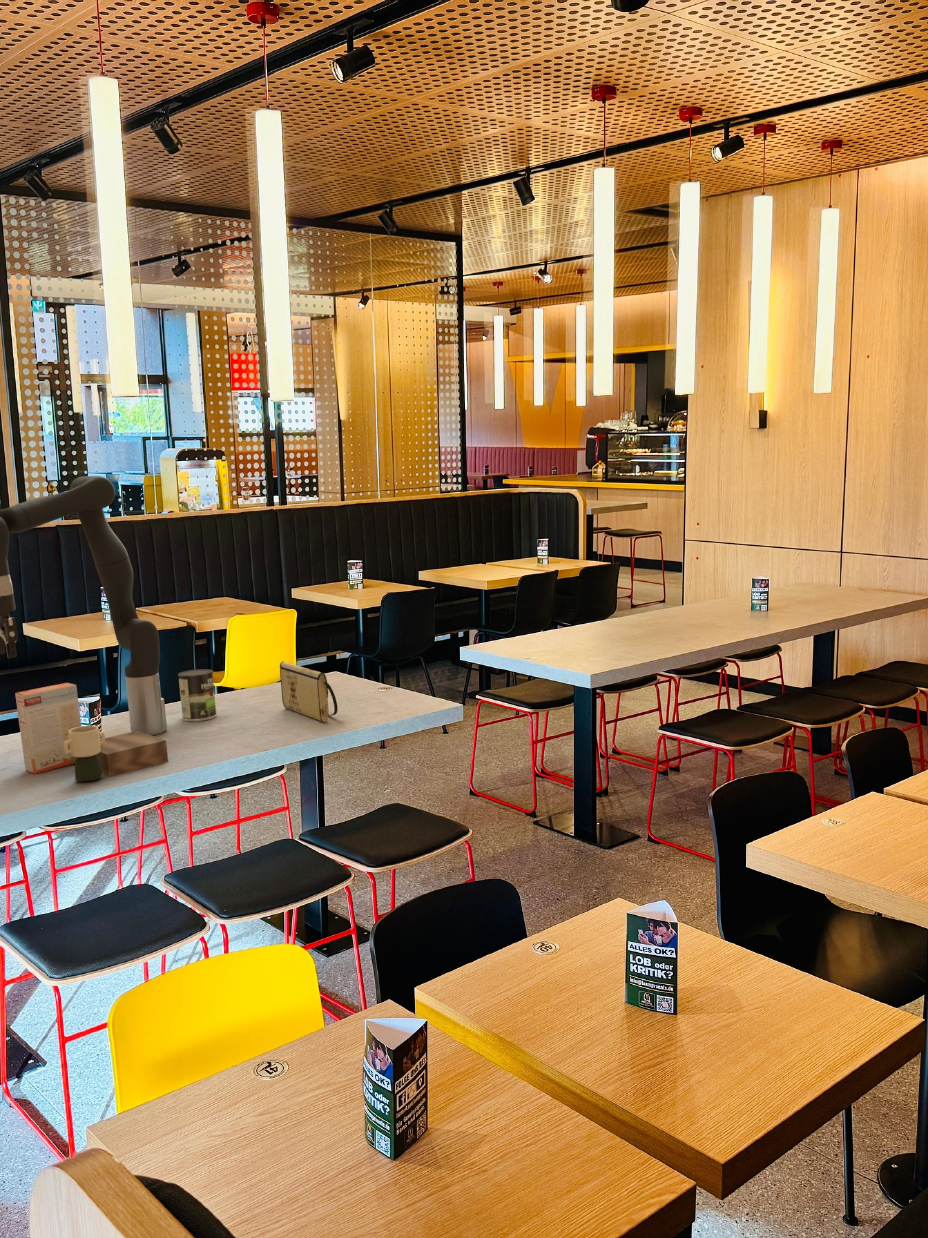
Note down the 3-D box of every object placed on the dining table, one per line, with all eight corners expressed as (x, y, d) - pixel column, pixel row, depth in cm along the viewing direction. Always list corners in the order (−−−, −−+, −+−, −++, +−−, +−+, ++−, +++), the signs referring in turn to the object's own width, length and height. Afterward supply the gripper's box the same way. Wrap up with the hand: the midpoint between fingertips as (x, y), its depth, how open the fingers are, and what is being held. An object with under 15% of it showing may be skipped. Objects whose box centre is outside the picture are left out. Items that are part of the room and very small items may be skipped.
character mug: (100, 772, 262) (95, 722, 260) (116, 776, 258) (111, 725, 256) (60, 783, 254) (54, 732, 252) (76, 788, 249) (70, 736, 247)
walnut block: (139, 752, 281) (137, 730, 280) (168, 762, 269) (166, 740, 268) (82, 766, 270) (79, 744, 269) (109, 777, 258) (107, 754, 257)
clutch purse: (344, 720, 303) (341, 670, 300) (323, 725, 299) (319, 674, 296) (299, 704, 327) (296, 657, 325) (279, 708, 323) (275, 661, 321)
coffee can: (223, 713, 319) (219, 669, 317) (204, 722, 309) (200, 676, 307) (194, 713, 322) (190, 668, 320) (175, 721, 313) (170, 675, 311)
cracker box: (76, 758, 277) (67, 681, 274) (86, 761, 273) (77, 684, 269) (23, 770, 267) (14, 691, 264) (33, 775, 263) (23, 694, 260)
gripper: (22, 593, 260) (31, 656, 263) (2, 589, 271) (11, 650, 274) (-9, 597, 255) (1, 661, 258) (-28, 594, 266) (-18, 655, 269)
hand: (6, 656), depth 266 cm, fingers open, 8 cm apart
